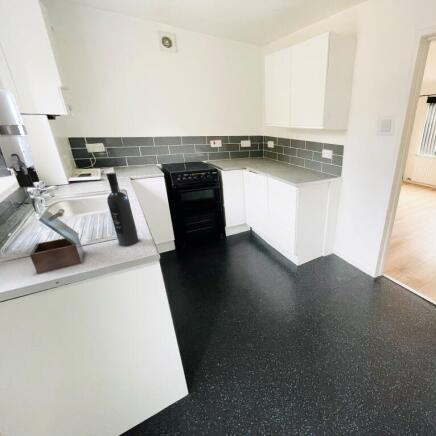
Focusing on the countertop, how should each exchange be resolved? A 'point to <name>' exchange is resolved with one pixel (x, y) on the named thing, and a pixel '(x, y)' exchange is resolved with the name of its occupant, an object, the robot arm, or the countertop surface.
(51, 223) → the lid
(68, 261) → the chest
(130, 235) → the wine bottle
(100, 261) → the countertop surface
